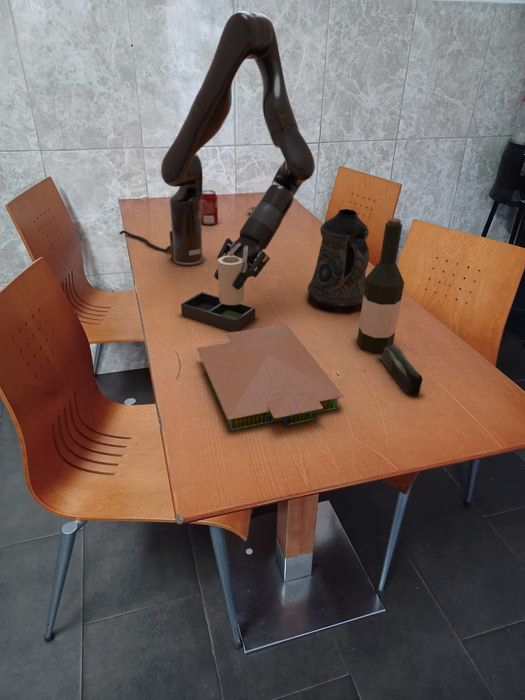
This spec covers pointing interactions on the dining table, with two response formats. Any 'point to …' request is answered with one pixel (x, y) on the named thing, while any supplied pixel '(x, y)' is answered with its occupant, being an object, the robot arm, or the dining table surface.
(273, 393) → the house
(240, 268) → the jar
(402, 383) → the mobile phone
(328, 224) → the beer stein
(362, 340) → the wine bottle
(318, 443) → the dining table surface
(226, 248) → the robot arm
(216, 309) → the tray
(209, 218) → the soda can
